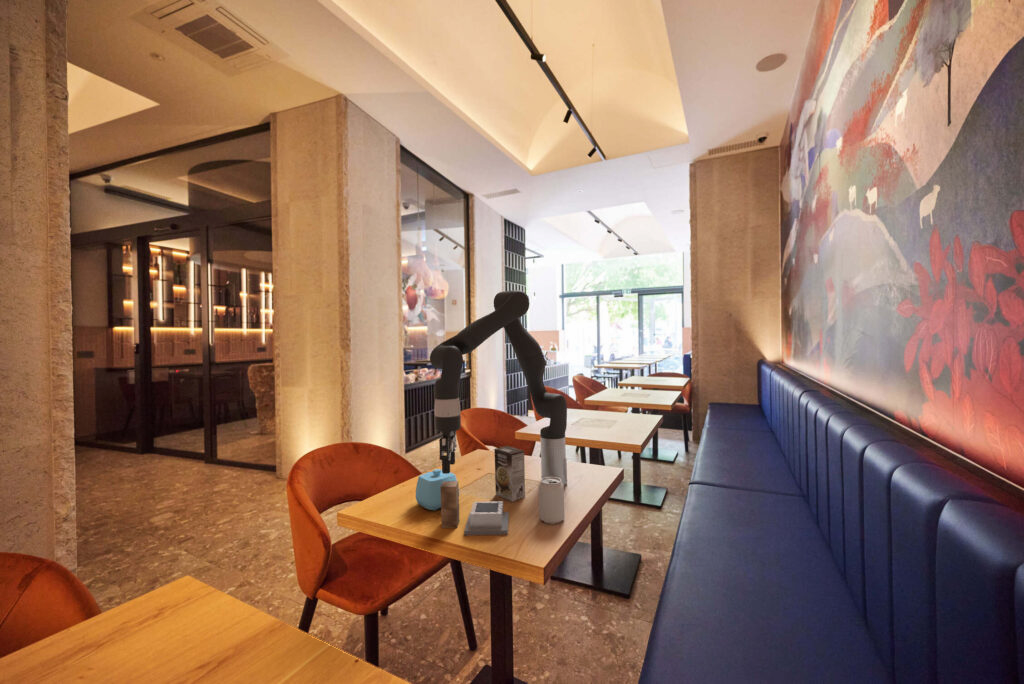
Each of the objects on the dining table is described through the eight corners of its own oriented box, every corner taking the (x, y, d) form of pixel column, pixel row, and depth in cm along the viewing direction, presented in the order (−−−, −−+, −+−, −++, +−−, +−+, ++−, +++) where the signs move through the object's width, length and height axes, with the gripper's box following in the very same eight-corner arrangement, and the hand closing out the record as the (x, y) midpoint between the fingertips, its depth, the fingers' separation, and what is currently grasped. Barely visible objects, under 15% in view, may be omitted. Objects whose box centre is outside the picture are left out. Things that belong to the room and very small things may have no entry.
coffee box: (494, 494, 143) (493, 448, 143) (508, 489, 147) (507, 445, 147) (511, 502, 136) (510, 453, 136) (526, 496, 141) (524, 449, 140)
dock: (508, 515, 126) (508, 498, 126) (507, 534, 114) (506, 515, 114) (469, 516, 126) (469, 499, 126) (464, 535, 114) (463, 516, 114)
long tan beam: (459, 520, 124) (458, 481, 123) (457, 527, 119) (455, 486, 119) (444, 521, 124) (443, 481, 124) (441, 528, 119) (440, 486, 119)
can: (548, 527, 118) (547, 485, 117) (534, 517, 124) (533, 478, 124) (569, 521, 121) (568, 480, 121) (555, 512, 128) (554, 473, 128)
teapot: (437, 520, 125) (436, 482, 125) (410, 503, 138) (409, 469, 138) (471, 508, 133) (470, 472, 133) (442, 493, 146) (441, 461, 146)
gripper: (456, 417, 114) (457, 476, 114) (463, 409, 128) (465, 461, 128) (429, 418, 114) (430, 476, 114) (439, 409, 128) (441, 461, 128)
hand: (448, 468), depth 121 cm, fingers open, 8 cm apart
